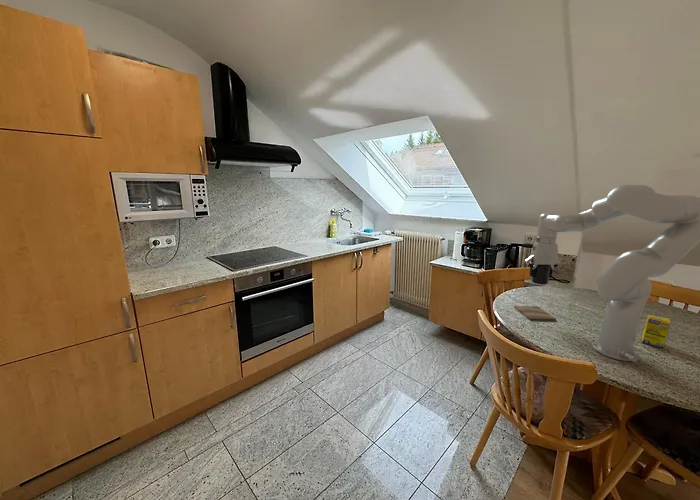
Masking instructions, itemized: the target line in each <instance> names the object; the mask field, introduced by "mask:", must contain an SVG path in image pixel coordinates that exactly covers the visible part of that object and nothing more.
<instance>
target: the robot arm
mask: <svg viewBox="0 0 700 500" xmlns="http://www.w3.org/2000/svg"><path fill="white" fill-rule="evenodd" d="M624 215H629V216H632V217H635V218H638V219H642V220H645V221H647V222H651V223H657V224H670V225H669V226H668V227H666V228H665V229H664V230H662V231H661V232H660V233H658V234H657V235H656V237H654V239H652V241H651V242H649V244H647V245H646V246H645V247H643V248H641V249H632V250H628V251H626V252H624V253H622V254H620V255H619V256H617V258H616V259H615V260H614V261H613V262H612V263H611V264H610V265H608V267H607V268H606V269H605V270H604V271H603V273H602V274H601V275H600V276H599V277H598V279H596V283H595V291H596V293H597V294H598V296H600V297H601V298H602V299H604V300H606V301H607V302H606V306H605V310H604V315H603V319H602V323H601V328H600V332H599V333H600V334H599V337H598V340H594V341H592V343H591V346H592V348H593V350H595V351H596V352H598V353H599V354H601V355H603V356H605V357H609V358H611V359H615V360H618V361H623V362H635V363H636V362H637V361H638V360H641V358H642V356H641V355H639V354H638V353H636V351H637V350H636V349H637V348H636V347H635V346H634V345H635V342H636V338H637V334H638V330H639V325H640V322H641V319H642V316H643V315H642V314H643V311H644V309H645V306H646V304H647V301H648V300H649V297H650V295H651V293H652V289H653V287H652V283H651V280H650V279H649V278H654V277H655V278H656V277H660V276H664V275H665V274H667V273H668V272H669V271H670V270H672V268H673V267H675V266H676V265H677V264H678V263H679V262H680V261H681V260H682V259H684V257H686V255H688V253H690V251H692V250H693V249H694V248H695V247H697V245H698V244H700V197H698V196H696V195H695V196H694V195H689V194H680V195H679V194H677V195H675V194H674V195H672V194H671V195H667V194H662V193H658V192H656V190H655V189H653V188H652V187H651V186H648V185H644V184H623V185H620V186H617V187H614V188H613V189H612V190H610V191H609V193H608V194H607V196H605V197H602V198H599V199H597V200H595V201H594V202H593V203H592V206H591V208H589V209H587V210H586V211H582V212H579V213H575V214H574V213H571V214H558V213H551V212H550V213H549V212H546V213H542V214H540V215H539V219H538V220H539V221H538V226H537V227H538V228H537V234H536V237H534V238H533V240H534V241H535V242H534V243H533V246H532V248H531V253H530V256H529V257H528V258H526V259H524V262H525V263H526V265H527V266H528V267H529V277H531V278H532V277H533V278H534V277H535V274H536V269H535V268H536V267H537V265H550V274H549V279H550V278H552V275H553V271H554V270H555V268H557V267H558V265H559V264H560V263H561V262H562V261H561V260H560V259H559V256H558V254H559V247H558V243H557V236H558V233H567V232H569V233H571V232H572V233H573V232H581V231H584V230H589V229H591V228H594V227H596V226H599V225H602V224H604V223H605V222H607V221H609V220H613V219H616V218H619V217H623V216H624Z"/></svg>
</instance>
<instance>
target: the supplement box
mask: <svg viewBox="0 0 700 500" xmlns="http://www.w3.org/2000/svg"><path fill="white" fill-rule="evenodd" d="M670 326H671V321H670V318H665V317H662V316H657V315H653V314H649V313H648V314H647V318H646V321H645V325H644V329H643V333H642V335H641V344H644V345H649V346H653V347H656V348H658V349H662V350H663V349H664V347H665V343H666V340H667V337H668V334H669V330H670V328H671V327H670Z"/></svg>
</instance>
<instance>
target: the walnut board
mask: <svg viewBox="0 0 700 500" xmlns="http://www.w3.org/2000/svg"><path fill="white" fill-rule="evenodd" d="M513 308H514V309H515V310H516V311H518V312H519V313H520V314H521V315H523V316H524V318H526V319H527V320H529V321H542V322H543V321H544V322H547V321H548V322H549V321H551V322H556V321H557V318H556V317H554V316H553V315H551V314H550V313H548V312H547V311H545V310H544V309H543V308H541V307H540V306H534V305H532V306H531V305H530V306H529V305H526V306H525V305H514V307H513Z"/></svg>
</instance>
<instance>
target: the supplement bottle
mask: <svg viewBox="0 0 700 500" xmlns="http://www.w3.org/2000/svg"><path fill="white" fill-rule="evenodd" d="M535 269H536V274H535V277H534V278H533V277H531V281H530V282H532V283H533V284H536V285H542V286H543V285H544V286H545V285H548V284H549V280H550V278H549V274H550V265H537V267H536V268H535Z"/></svg>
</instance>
